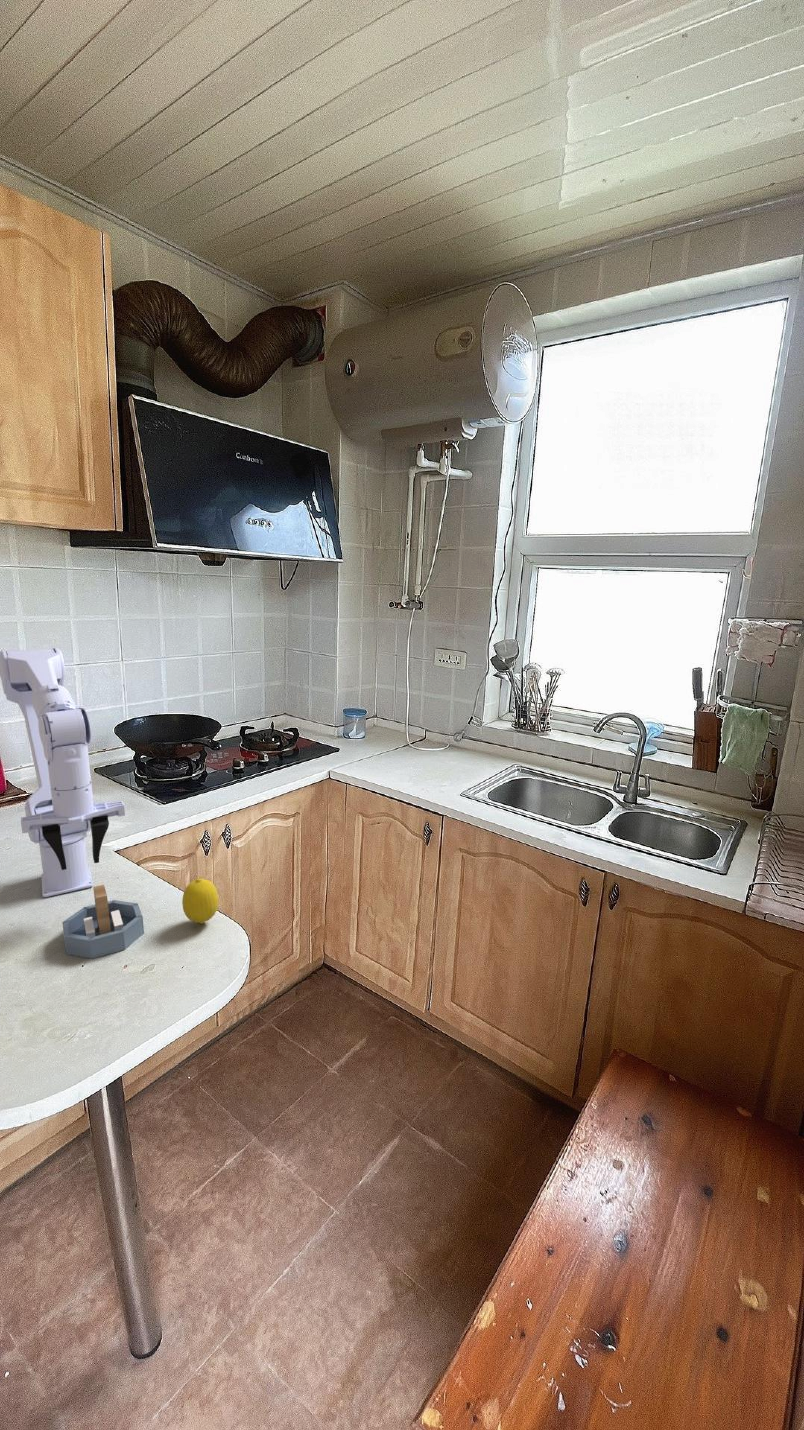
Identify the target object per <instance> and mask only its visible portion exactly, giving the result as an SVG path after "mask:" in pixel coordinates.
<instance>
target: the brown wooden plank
mask: <svg viewBox="0 0 804 1430" xmlns="http://www.w3.org/2000/svg"><path fill="white" fill-rule="evenodd" d="M92 887H93V897H94V905H95V907H96V916H97V925H98V931H99V935H102V934H106V933H110V932H111V929H110V919H109V910H108V894H107V891H106V886H105V884H100V885H96V886H92Z"/></svg>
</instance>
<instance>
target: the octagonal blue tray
mask: <svg viewBox="0 0 804 1430" xmlns="http://www.w3.org/2000/svg"><path fill="white" fill-rule="evenodd" d="M108 910H109V919H110V929H111V932H110V933H106V934H102V935H99V931H98V925H97V916H96V907H95V904H92V905H88V906H84V907H82V908H81V909H79V910H78V911H76V912H74V914H72V915H71V916H69V917H68V918H66V919H65V920H63V921H62V922H61V923H62V929H63V930H62V932H63V940H64V948H65V954H66V955H68V956H74V957H81V958H86V959H91V960H93V959H96V958H99V957H103V956H107V955H111V954H115V953H117V952H121V951H125V950H126V949H128V947H130V946H131V945H132V944H133V943H135V942H136V941H137V940H139V938H141V936H143V935H144V934H145V928H144V918H143V915H142V911H141V908H140V906H139V903H137V902H136V903H135V902H131V901H123V900H117V899H116V900H115V899H113V900H109V901H108Z"/></svg>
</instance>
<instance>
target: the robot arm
mask: <svg viewBox="0 0 804 1430" xmlns="http://www.w3.org/2000/svg"><path fill="white" fill-rule="evenodd" d="M64 659H65V658H64V655H63V653H62V651H61V649H59V648H58V647H52V648H42V649H41V648H40V649H23V650H22V649H20V650H0V681H1V687H2V690H3V694H4V695H5V698H6V701H10V702H12V703H15V704H18V707H19V709H20V711H21V713H22V715H23V718H24V723H25V726H26V733H27V736H28V742H29V745H30V746H29V747H30V750H31V756H32V761H33V765H34V770H35V775H36V780H37V784H38V789H36V791H35V792H33V793H32V794H31V795H30V796H29V797H28V798H27V799H26V801H25V804H24V812H25V816H23V817H22V816H21V817H20V825H21V832H22V834H26V833H28V837H29V840H30V842H32V843H34V844H38V846H39V853H40V854H39V855H40V862H41V867H42V869H41V870H42V873H41V876H40V877H41V892H42V898H48V897H52V896H57V895H61V894H65V893H69V892H70V893H71V892H75V891H79V890H80V891H81V890H83V889H88V888H91V887H94V881H93V877H92V872H91V868H90V865H89V864H88V854H87V846H86V845H87V844H86V838H87V837H88V833H89V832H90V831H91V839H92V840H91V841H92V842H91V844H92V849H91V850H92V859H93V863H94V864H98V863H100V854H101V848H102V844H103V841H104V838H105V836H106V834H107V831H108V829H109V826H110V821H109V818H110V817H124V816H126V810H125V809H126V808H125V802H123V800H121V801H113V802H98V803H97V802H95V803H94V795H93V786H92V785H93V784H92V776H91V766H90V757H89V747H88V744H90V743H91V740H92V727H91V726H92V725H91V721H90V719H89V714H88V712H87V711H86V709H85V707H83V706H82V707H81V706H77V705H76V703H75V700H74V699H73V697H72V695H71V693H70V691H69V690H68V689H67V688H66V687H65V684H64V683H65V677H66V666H65V660H64ZM86 743H87V744H86Z"/></svg>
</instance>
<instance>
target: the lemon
mask: <svg viewBox="0 0 804 1430" xmlns="http://www.w3.org/2000/svg"><path fill="white" fill-rule="evenodd" d="M181 905H182V910H183V913H184V915H185V916H186V917H187V919H188V920H189V921H192V922H193V923H197V924H200V925H203V924H205V922H208V921H209V920H211V919H212V918H213V917H214V916H215V915H216V912H217V910H218V908H219V895H218V890H217V888H216V886H215V885H214V883H213V882H211V881H210V880H208V879H205V878H201V877H198V878H196V879H194V880H193V881H191V882H190V883H188V885H187V886H186V887H185V888H184V891H183V895H182V904H181Z"/></svg>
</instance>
